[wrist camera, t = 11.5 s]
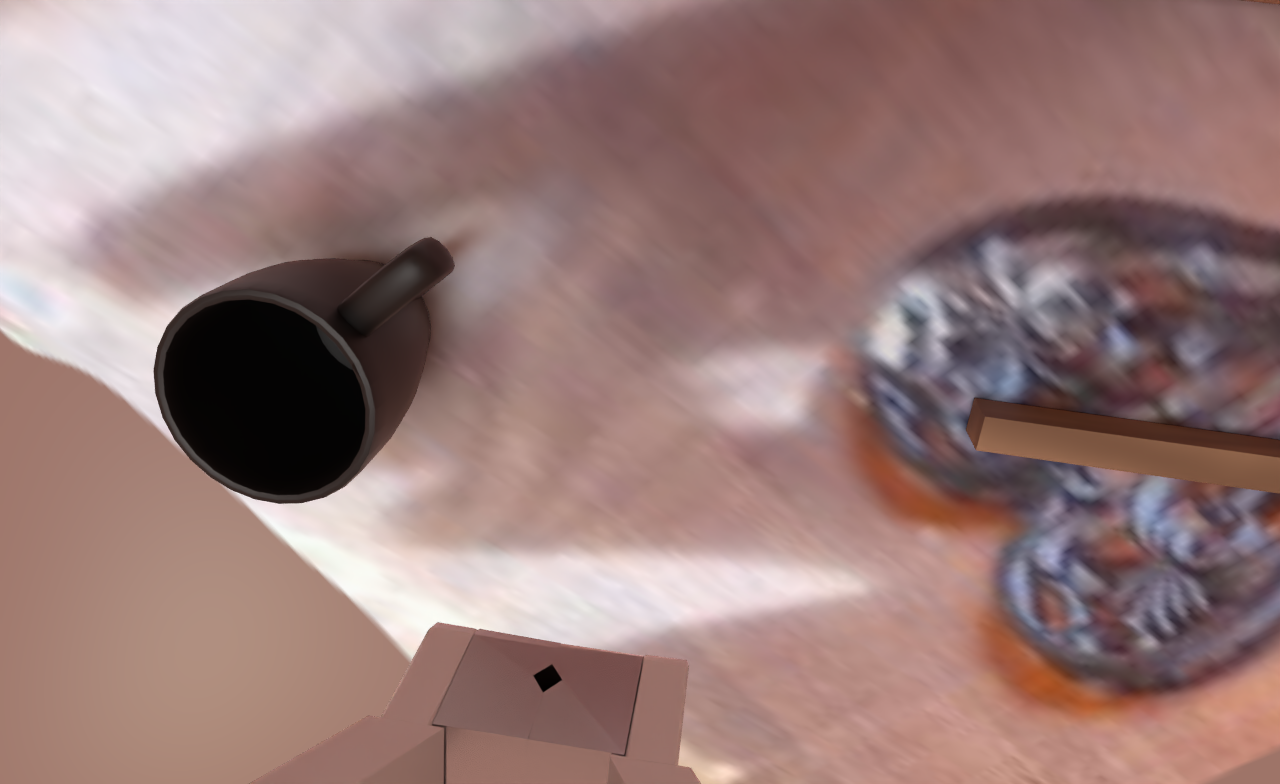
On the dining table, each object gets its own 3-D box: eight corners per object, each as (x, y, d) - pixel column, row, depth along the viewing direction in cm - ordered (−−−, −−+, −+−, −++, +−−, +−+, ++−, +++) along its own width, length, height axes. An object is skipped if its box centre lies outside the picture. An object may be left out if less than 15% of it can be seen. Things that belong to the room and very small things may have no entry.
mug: (563, 294, 39) (505, 372, 30) (368, 437, 43) (267, 543, 34) (438, 135, 37) (337, 169, 28) (246, 299, 41) (106, 374, 32)
